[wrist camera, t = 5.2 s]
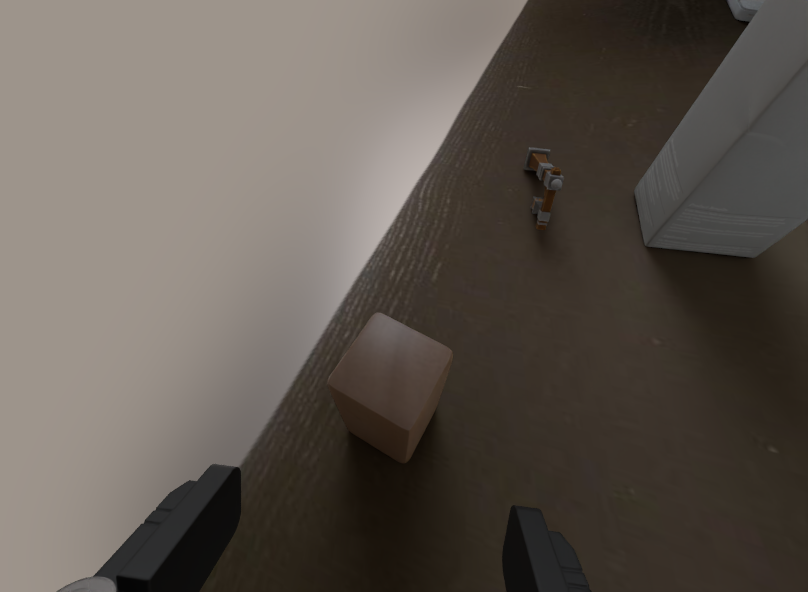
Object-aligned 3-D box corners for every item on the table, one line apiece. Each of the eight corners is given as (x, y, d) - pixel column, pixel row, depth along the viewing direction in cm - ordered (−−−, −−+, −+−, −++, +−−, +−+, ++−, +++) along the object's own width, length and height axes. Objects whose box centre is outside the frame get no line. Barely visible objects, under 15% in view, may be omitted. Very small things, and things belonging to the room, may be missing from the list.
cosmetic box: (730, 201, 32) (975, -41, 18) (757, 270, 28) (1090, 31, 15) (625, 188, 32) (789, -56, 19) (638, 254, 29) (854, 9, 15)
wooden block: (344, 429, 22) (321, 382, 15) (381, 371, 24) (375, 306, 17) (405, 467, 21) (411, 436, 14) (439, 403, 23) (458, 348, 16)
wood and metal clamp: (530, 233, 28) (547, 172, 26) (516, 196, 35) (529, 144, 32) (555, 236, 28) (575, 175, 26) (536, 198, 35) (550, 147, 32)
